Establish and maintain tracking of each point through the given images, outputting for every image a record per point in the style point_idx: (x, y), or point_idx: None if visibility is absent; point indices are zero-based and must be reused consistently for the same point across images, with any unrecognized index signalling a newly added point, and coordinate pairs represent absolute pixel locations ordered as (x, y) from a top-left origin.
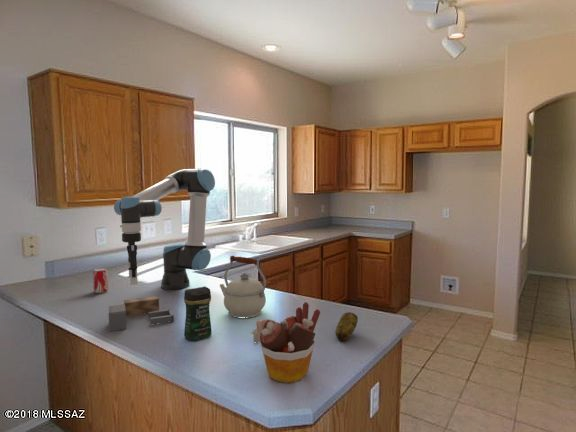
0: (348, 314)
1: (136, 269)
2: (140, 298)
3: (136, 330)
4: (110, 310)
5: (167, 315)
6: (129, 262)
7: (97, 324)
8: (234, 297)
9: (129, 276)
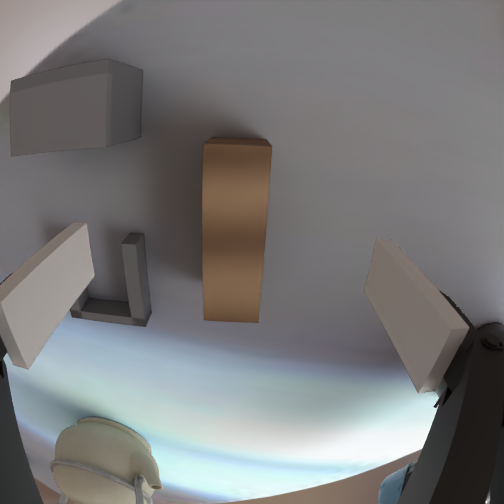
0: None
1: (12, 358)
2: (258, 240)
3: (35, 179)
4: (36, 81)
5: (76, 301)
6: (471, 342)
7: (160, 23)
8: (58, 456)
9: (380, 246)
